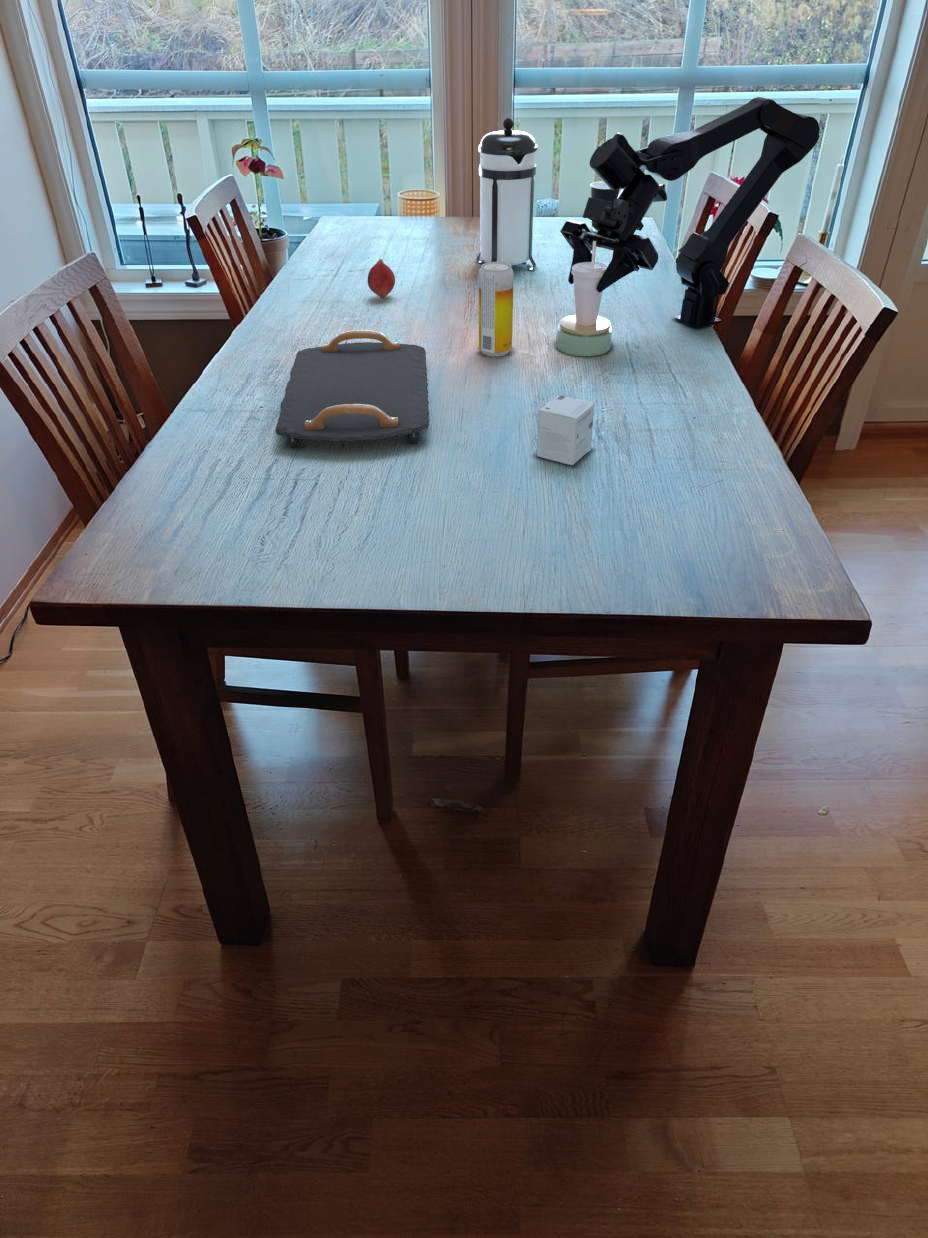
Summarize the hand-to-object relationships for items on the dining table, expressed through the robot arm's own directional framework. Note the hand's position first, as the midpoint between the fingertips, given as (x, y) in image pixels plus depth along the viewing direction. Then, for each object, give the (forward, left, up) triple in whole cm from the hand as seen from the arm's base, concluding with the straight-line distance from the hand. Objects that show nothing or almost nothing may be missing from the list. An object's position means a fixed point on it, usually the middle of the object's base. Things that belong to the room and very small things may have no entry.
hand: (583, 286), depth 148 cm
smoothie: (-1, 0, -7) cm, 7 cm away
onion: (+17, -46, -11) cm, 50 cm away
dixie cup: (-57, -63, -11) cm, 86 cm away
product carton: (+28, +32, -11) cm, 44 cm away
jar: (-1, 0, -11) cm, 11 cm away
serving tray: (+45, -1, -11) cm, 46 cm away
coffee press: (-18, -52, -11) cm, 57 cm away
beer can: (+14, -7, -11) cm, 19 cm away
